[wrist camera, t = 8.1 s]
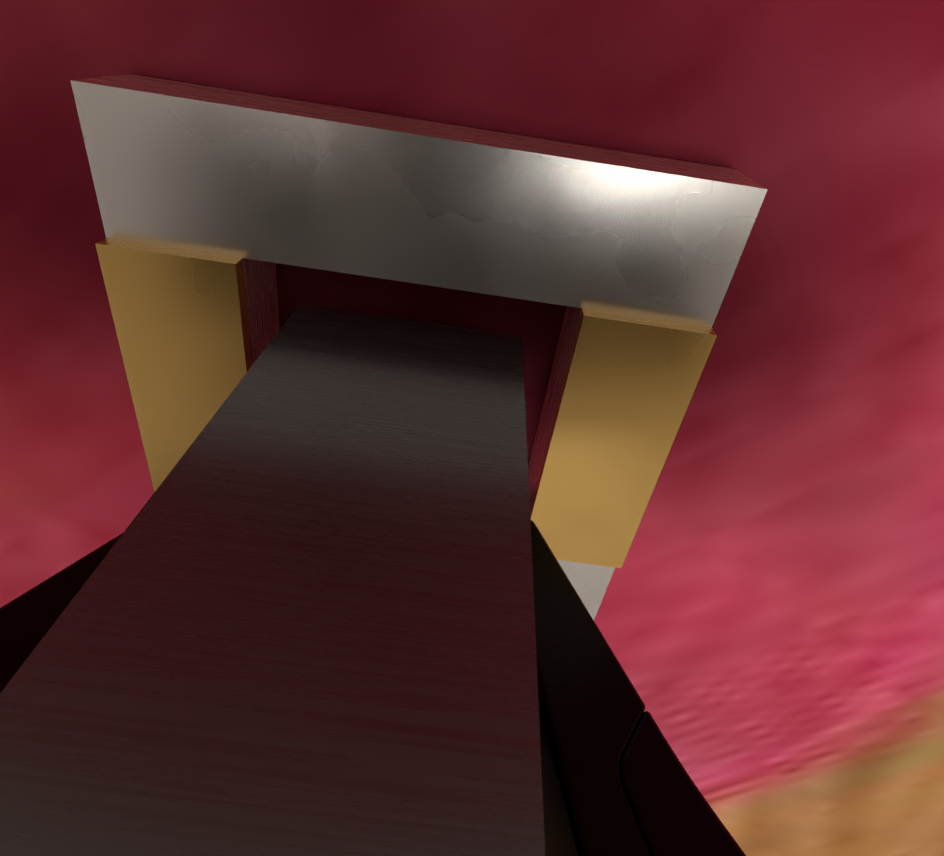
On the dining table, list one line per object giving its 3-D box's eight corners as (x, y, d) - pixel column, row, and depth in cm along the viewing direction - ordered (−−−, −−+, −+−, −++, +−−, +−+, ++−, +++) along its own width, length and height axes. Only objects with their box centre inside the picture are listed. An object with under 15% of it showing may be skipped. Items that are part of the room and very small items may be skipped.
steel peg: (306, 476, 13) (-83, 1331, 4) (299, 303, 10) (-554, 1415, 2) (489, 501, 13) (452, 1381, 4) (522, 336, 10) (572, 1506, 2)
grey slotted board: (260, 819, 25) (244, 868, 24) (128, 73, 9) (57, 81, 8) (486, 846, 26) (485, 896, 24) (734, 168, 10) (775, 194, 8)
